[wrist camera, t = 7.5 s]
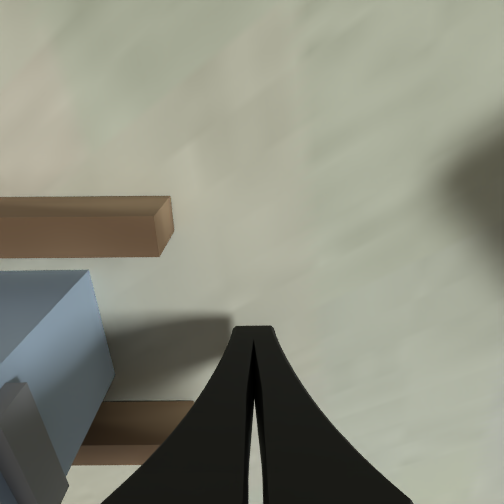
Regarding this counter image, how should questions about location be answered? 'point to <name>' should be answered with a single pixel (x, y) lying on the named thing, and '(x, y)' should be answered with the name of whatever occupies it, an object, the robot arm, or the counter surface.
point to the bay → (89, 246)
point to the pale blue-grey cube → (47, 379)
